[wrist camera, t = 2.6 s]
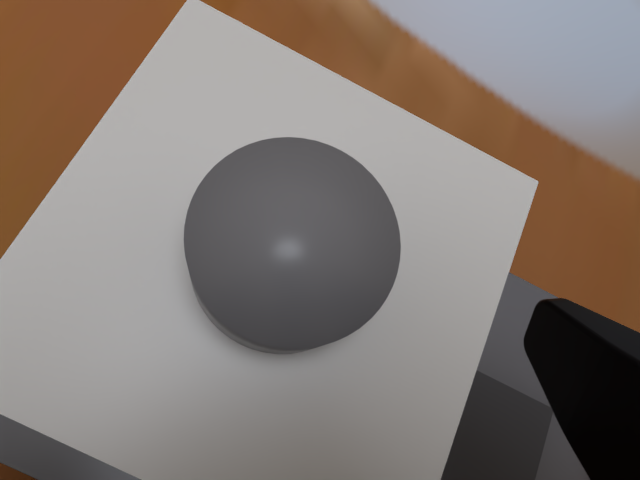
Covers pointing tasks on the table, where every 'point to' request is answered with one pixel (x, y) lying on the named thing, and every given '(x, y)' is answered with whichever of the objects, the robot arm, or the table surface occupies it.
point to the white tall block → (257, 273)
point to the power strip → (470, 439)
